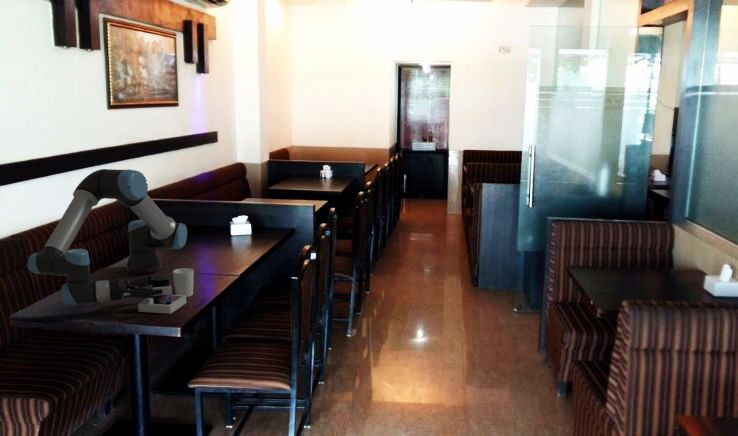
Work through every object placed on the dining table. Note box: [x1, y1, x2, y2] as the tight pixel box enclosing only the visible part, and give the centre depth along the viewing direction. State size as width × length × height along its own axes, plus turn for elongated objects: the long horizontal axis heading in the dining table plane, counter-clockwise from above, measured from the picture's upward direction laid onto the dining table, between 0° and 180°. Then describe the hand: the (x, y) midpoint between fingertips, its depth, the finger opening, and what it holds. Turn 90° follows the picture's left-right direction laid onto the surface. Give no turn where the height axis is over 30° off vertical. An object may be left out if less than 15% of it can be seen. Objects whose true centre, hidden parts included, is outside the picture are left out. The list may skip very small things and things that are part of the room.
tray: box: [137, 294, 187, 314], centre depth 233 cm, size 13×13×3 cm
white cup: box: [172, 267, 195, 298], centre depth 247 cm, size 8×8×10 cm
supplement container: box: [151, 275, 172, 305], centre depth 232 cm, size 7×7×10 cm
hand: (171, 285), depth 232 cm, fingers open, 13 cm apart
